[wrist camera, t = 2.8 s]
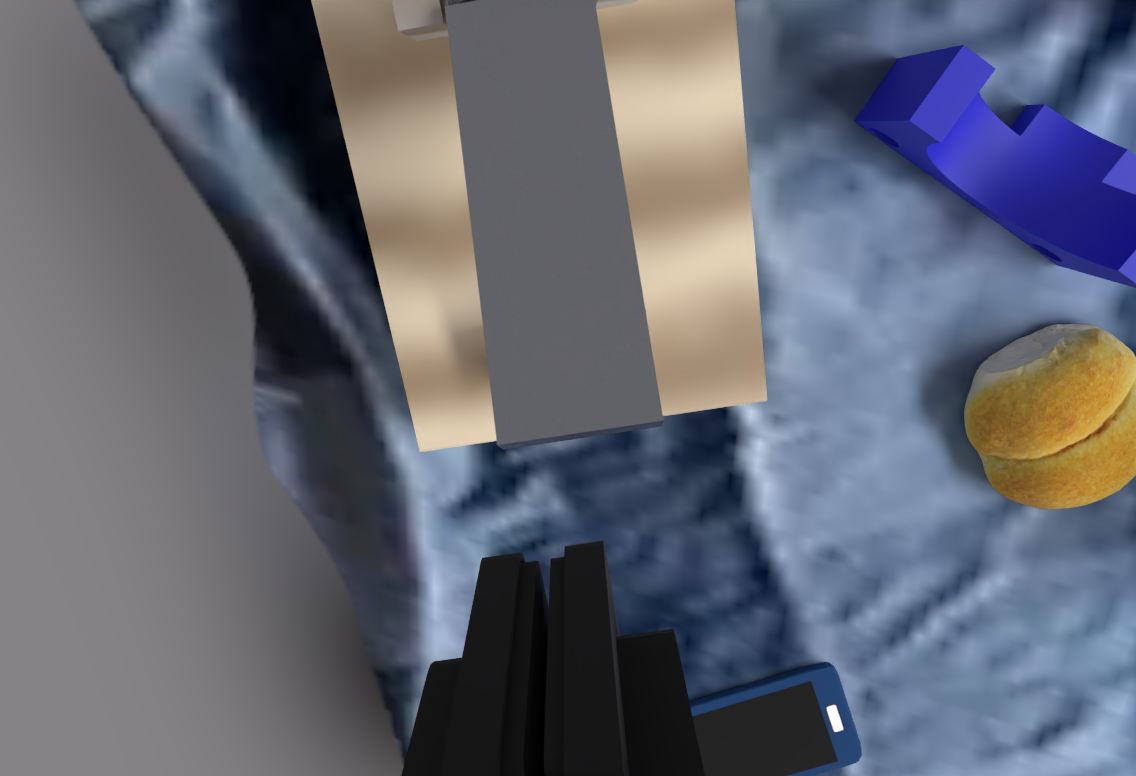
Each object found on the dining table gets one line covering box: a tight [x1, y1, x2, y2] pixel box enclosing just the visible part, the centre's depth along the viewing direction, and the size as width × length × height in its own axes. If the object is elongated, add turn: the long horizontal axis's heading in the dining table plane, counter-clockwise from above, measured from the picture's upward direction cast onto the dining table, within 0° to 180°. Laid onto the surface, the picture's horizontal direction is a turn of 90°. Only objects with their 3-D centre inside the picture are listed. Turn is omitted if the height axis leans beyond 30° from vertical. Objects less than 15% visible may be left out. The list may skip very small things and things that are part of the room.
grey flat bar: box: [445, 0, 664, 449], centre depth 25 cm, size 17×5×2 cm
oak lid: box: [311, 0, 767, 452], centre depth 32 cm, size 20×16×7 cm
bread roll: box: [964, 324, 1136, 509], centre depth 37 cm, size 8×9×4 cm
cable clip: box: [854, 45, 1136, 288], centre depth 32 cm, size 12×4×6 cm, turn 58°
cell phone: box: [689, 662, 862, 776], centre depth 45 cm, size 7×14×1 cm, turn 111°
